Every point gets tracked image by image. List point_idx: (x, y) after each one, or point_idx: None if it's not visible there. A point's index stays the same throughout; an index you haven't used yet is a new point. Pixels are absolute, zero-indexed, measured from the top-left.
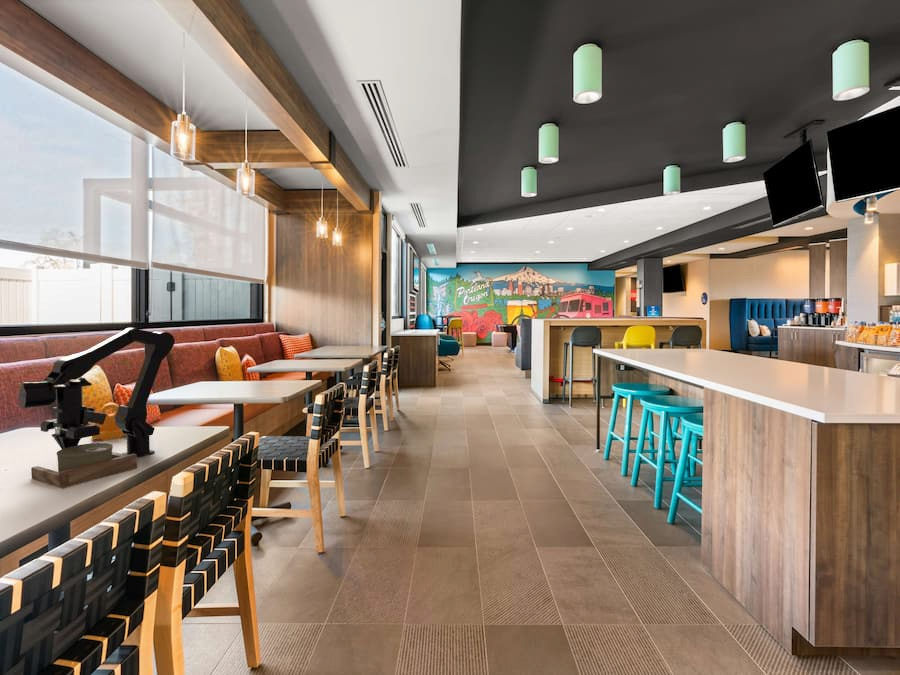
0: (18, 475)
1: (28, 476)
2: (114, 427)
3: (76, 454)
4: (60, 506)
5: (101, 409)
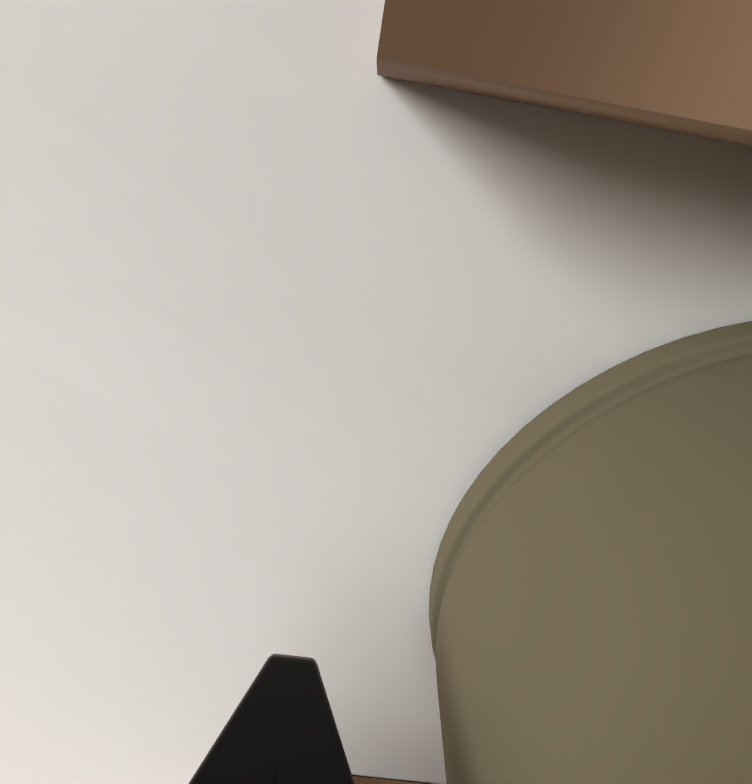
0: (8, 778)
1: (145, 772)
2: None
3: None
4: None
5: None
